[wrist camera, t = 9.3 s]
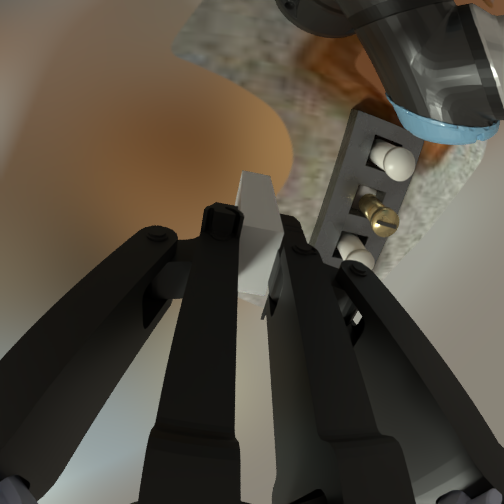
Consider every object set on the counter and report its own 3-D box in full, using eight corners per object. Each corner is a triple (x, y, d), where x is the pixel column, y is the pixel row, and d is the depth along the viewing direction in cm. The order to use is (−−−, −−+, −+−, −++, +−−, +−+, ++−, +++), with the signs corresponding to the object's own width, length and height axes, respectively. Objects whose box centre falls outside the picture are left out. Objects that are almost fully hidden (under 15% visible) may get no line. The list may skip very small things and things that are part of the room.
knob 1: (338, 225, 48) (352, 249, 41) (362, 230, 48) (379, 255, 42) (329, 248, 50) (341, 275, 43) (352, 253, 51) (367, 280, 44)
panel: (351, 108, 38) (358, 110, 36) (415, 134, 40) (424, 138, 37) (304, 256, 52) (307, 266, 49) (363, 267, 53) (368, 276, 50)
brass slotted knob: (361, 188, 42) (380, 208, 35) (383, 195, 42) (404, 215, 36) (352, 212, 44) (369, 235, 37) (374, 217, 44) (393, 240, 38)
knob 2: (369, 133, 40) (392, 143, 33) (394, 142, 40) (419, 154, 34) (360, 160, 42) (381, 175, 35) (385, 168, 43) (408, 185, 36)
